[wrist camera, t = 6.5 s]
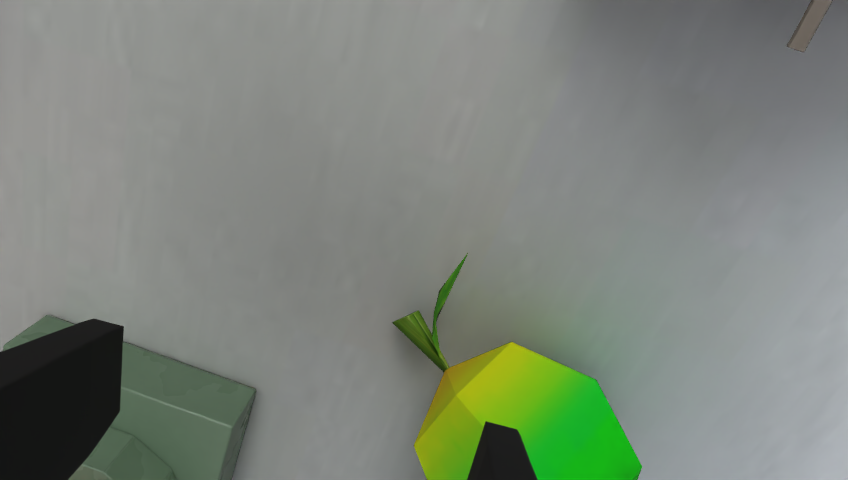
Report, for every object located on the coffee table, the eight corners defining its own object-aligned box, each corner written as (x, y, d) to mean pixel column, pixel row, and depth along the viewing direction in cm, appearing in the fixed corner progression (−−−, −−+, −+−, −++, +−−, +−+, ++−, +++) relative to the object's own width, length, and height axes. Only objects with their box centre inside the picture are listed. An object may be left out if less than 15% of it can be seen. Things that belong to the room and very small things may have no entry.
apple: (497, 662, 18) (297, 416, 20) (597, 519, 22) (421, 334, 25) (654, 572, 13) (370, 273, 16) (738, 416, 18) (506, 205, 20)
